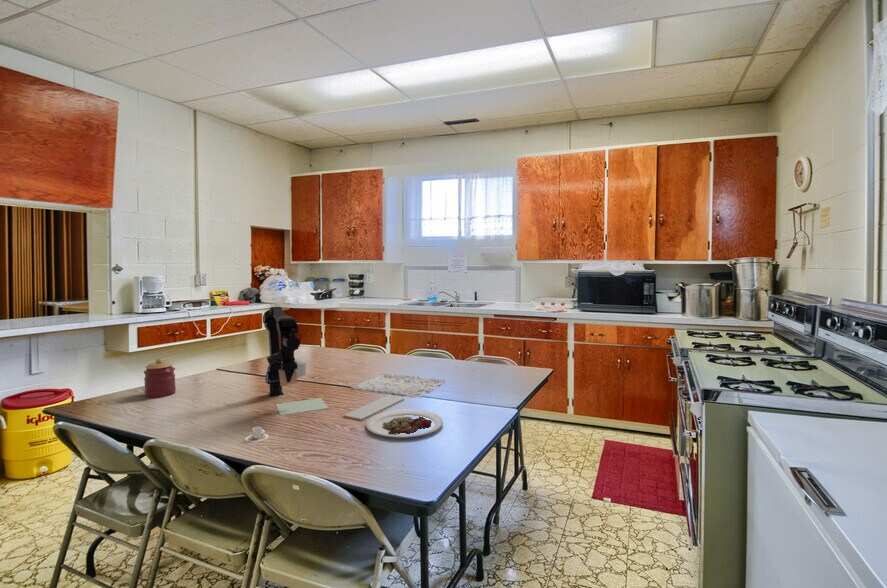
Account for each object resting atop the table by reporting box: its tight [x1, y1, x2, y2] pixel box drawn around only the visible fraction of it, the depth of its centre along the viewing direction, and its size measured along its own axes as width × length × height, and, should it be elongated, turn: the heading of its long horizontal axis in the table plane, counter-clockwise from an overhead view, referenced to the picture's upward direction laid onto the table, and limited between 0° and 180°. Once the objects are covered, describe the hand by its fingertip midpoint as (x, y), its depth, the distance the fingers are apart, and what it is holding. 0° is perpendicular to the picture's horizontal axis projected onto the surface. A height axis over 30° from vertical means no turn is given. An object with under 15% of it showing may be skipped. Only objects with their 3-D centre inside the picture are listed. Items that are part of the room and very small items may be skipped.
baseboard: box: [341, 394, 405, 422], centre depth 202 cm, size 31×3×12 cm
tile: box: [279, 369, 298, 387], centre depth 201 cm, size 2×7×7 cm, turn 115°
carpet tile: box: [350, 373, 446, 398], centre depth 237 cm, size 39×30×2 cm
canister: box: [143, 358, 177, 399], centre depth 223 cm, size 13×13×18 cm
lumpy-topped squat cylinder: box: [295, 358, 307, 378], centre depth 258 cm, size 10×13×9 cm
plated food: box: [365, 408, 444, 439], centre depth 179 cm, size 30×30×3 cm
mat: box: [275, 397, 329, 416], centre depth 203 cm, size 16×20×1 cm
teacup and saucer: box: [244, 426, 269, 443], centre depth 168 cm, size 9×8×4 cm
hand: (288, 381), depth 201 cm, fingers closed on tile, 2 cm apart
